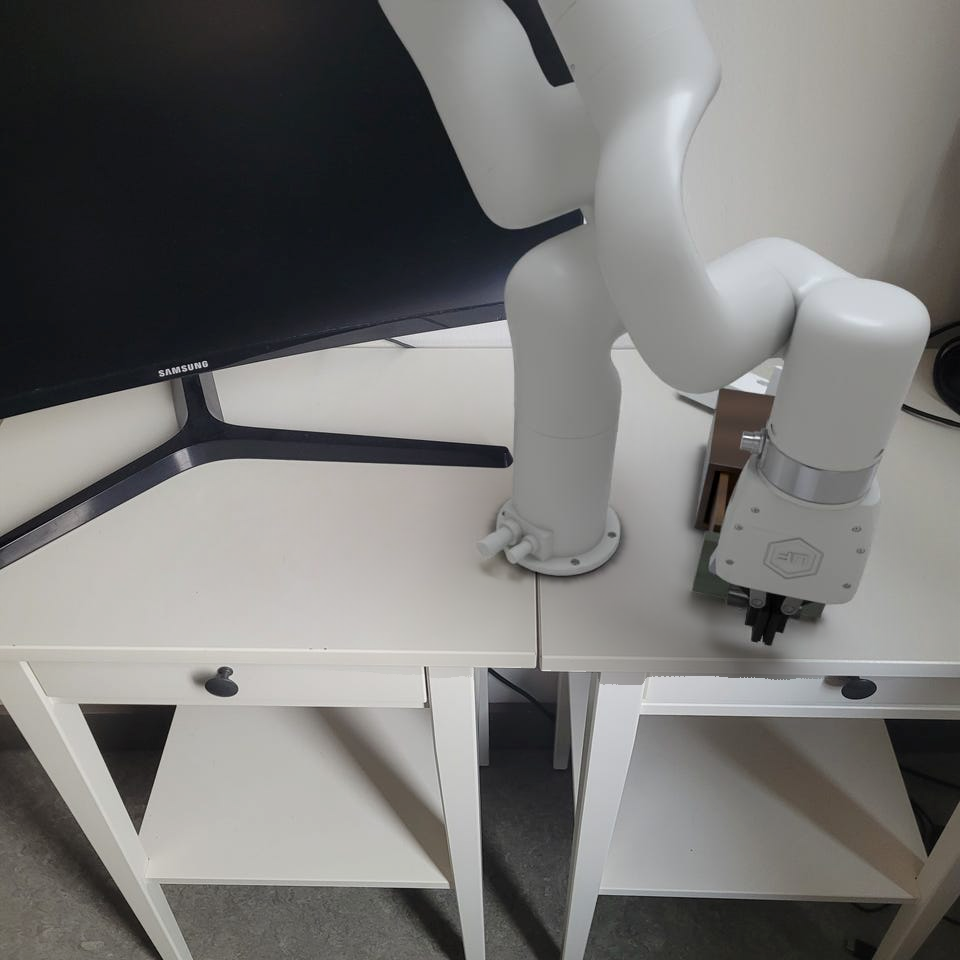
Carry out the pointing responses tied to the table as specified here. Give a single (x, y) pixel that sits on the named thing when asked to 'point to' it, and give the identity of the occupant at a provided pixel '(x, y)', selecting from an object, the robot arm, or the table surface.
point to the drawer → (703, 577)
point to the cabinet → (729, 441)
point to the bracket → (742, 387)
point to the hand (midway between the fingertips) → (761, 630)
